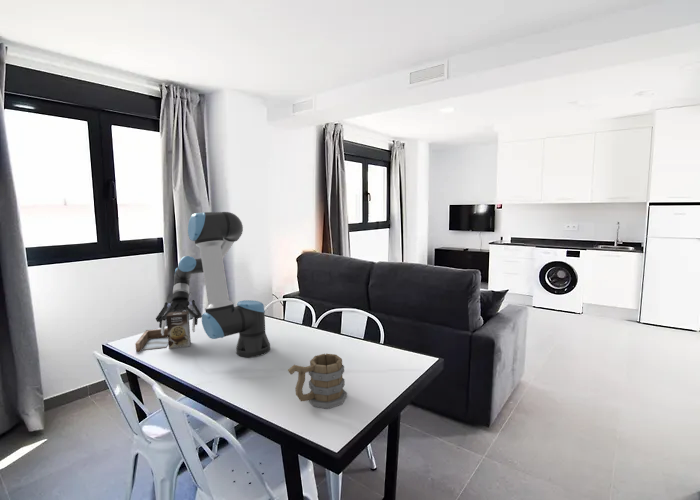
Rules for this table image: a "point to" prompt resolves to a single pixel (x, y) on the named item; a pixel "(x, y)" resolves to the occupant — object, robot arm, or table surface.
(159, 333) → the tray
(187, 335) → the coffee box
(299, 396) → the tankard
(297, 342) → the table surface
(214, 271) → the robot arm
